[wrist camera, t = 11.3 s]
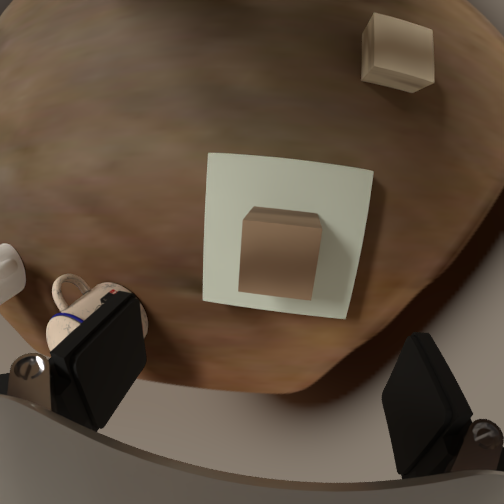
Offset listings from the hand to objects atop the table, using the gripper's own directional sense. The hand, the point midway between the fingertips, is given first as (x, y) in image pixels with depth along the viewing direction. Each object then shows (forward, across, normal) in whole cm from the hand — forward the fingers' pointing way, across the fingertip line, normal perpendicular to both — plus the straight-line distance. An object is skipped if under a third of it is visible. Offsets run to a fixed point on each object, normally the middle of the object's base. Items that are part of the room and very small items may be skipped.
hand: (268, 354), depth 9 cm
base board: (+18, 0, +1) cm, 18 cm away
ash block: (+18, -8, -16) cm, 26 cm away
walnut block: (+15, 0, +1) cm, 15 cm away
